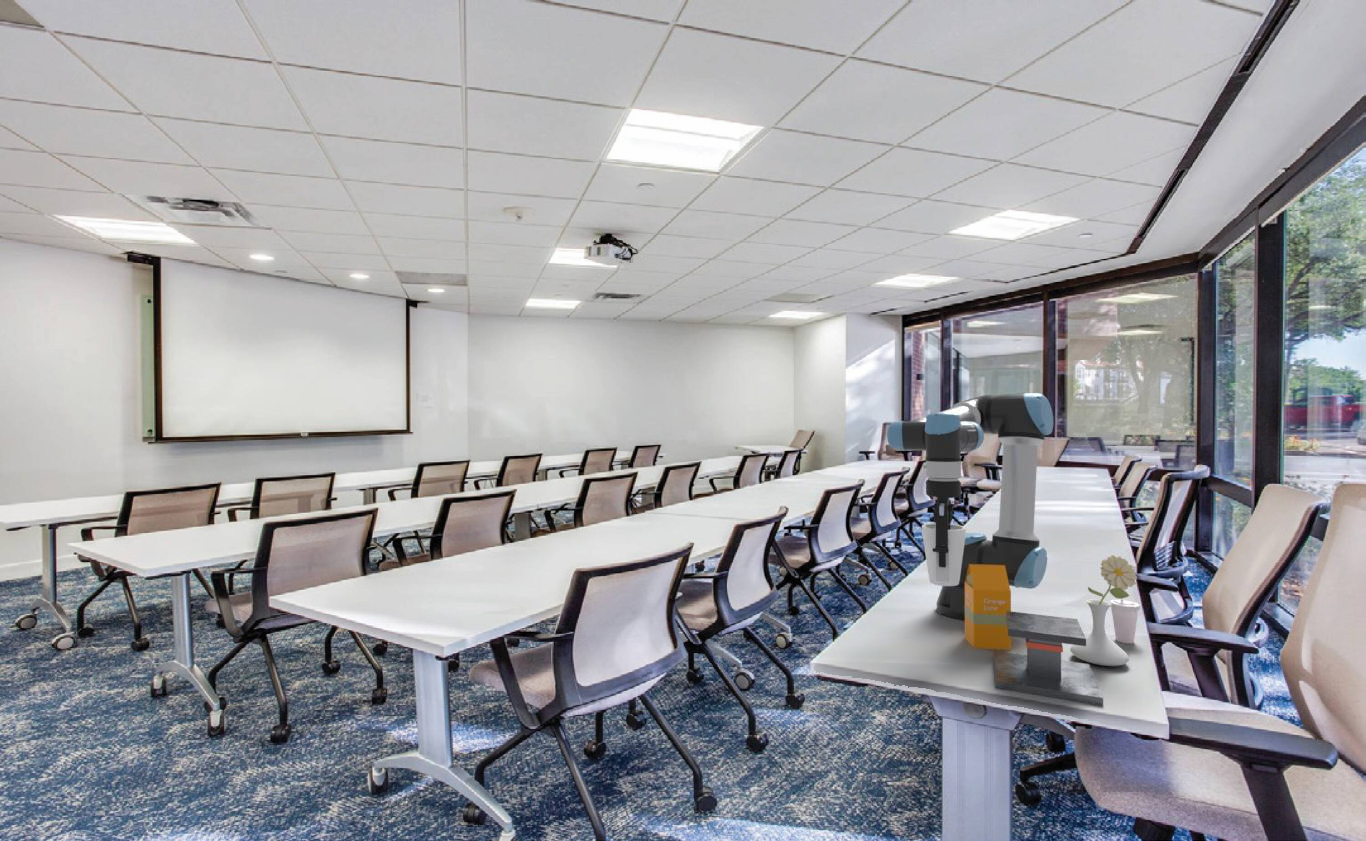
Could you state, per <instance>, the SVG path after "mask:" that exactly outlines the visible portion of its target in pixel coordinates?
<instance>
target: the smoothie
mask: <svg viewBox="0 0 1366 841" xmlns="http://www.w3.org/2000/svg"><path fill="white" fill-rule="evenodd" d="M1109 603H1111V604H1112V605H1111V606H1110V608H1111V613H1112V614H1111V615H1112V621H1113V628H1114V634H1115V635H1114V636H1115V640H1116V641H1117V642H1120V643H1123V644H1134V643H1135V636H1136V630H1137V622H1138V616H1139V611H1140V610H1141V605H1140V604H1139V603H1138V602H1135V601H1132V600H1125V599H1124V598H1121V599H1111V600H1109Z"/></svg>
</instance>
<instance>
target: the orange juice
mask: <svg viewBox="0 0 1366 841" xmlns="http://www.w3.org/2000/svg"><path fill="white" fill-rule="evenodd" d="M1006 611H1011V612H1012V592H1011V586H1009V582H1008V577H1007V573H1006V568H1005V565H984V564H969V567H968V571H967V575H966V579H965V620H964V638H965V640H966V641H967V642H968V643H969V644H970V645H971V646H972V648H973V649H989V650H1007V651H1009V650H1010V651H1011V650H1012V636H1008V630H1007V620H1006Z"/></svg>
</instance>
